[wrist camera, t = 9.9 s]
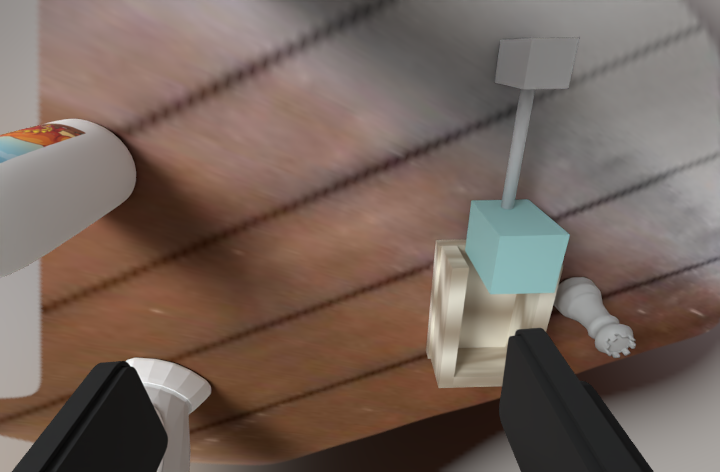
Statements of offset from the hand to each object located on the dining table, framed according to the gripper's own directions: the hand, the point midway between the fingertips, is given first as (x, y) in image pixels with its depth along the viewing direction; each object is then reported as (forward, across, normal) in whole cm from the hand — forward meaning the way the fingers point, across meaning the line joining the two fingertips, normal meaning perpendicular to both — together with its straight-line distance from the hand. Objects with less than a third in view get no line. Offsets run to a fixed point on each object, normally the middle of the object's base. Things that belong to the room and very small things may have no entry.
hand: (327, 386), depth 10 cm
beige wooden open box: (+25, -13, +17) cm, 33 cm away
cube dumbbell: (+25, -14, +2) cm, 28 cm away
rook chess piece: (+25, -22, +17) cm, 38 cm away
